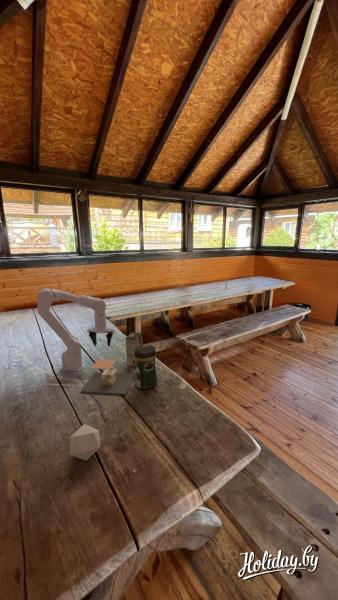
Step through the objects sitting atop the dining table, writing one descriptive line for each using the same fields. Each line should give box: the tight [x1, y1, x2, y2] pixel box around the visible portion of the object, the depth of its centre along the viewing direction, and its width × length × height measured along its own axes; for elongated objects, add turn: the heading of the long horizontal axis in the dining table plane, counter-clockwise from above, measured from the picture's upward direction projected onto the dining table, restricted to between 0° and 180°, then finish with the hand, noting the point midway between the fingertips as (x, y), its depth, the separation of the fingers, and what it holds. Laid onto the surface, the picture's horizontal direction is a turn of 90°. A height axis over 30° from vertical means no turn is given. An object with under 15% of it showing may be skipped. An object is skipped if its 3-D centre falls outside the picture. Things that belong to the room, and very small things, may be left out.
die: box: [69, 423, 101, 461], centre depth 75 cm, size 8×9×10 cm
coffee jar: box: [134, 344, 158, 390], centre depth 110 cm, size 10×8×19 cm
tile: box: [91, 358, 116, 370], centre depth 131 cm, size 10×10×1 cm
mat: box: [80, 371, 136, 396], centre depth 113 cm, size 20×16×1 cm
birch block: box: [101, 368, 117, 385], centre depth 113 cm, size 5×5×5 cm
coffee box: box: [125, 331, 144, 367], centre depth 131 cm, size 9×6×16 cm
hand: (102, 345), depth 133 cm, fingers open, 7 cm apart
